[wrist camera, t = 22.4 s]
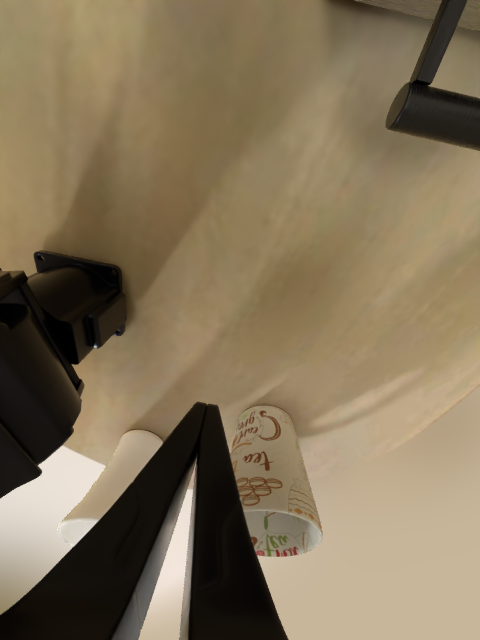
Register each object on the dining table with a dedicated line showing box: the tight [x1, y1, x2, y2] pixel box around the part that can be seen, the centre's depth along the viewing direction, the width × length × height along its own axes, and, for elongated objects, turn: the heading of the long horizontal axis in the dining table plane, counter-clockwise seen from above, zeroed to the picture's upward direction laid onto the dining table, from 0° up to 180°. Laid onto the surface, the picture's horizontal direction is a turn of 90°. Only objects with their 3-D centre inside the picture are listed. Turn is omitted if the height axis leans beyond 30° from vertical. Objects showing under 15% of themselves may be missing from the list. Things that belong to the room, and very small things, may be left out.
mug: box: [230, 405, 322, 557], centre depth 24 cm, size 8×13×10 cm, turn 8°
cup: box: [57, 430, 163, 547], centre depth 27 cm, size 9×9×10 cm
